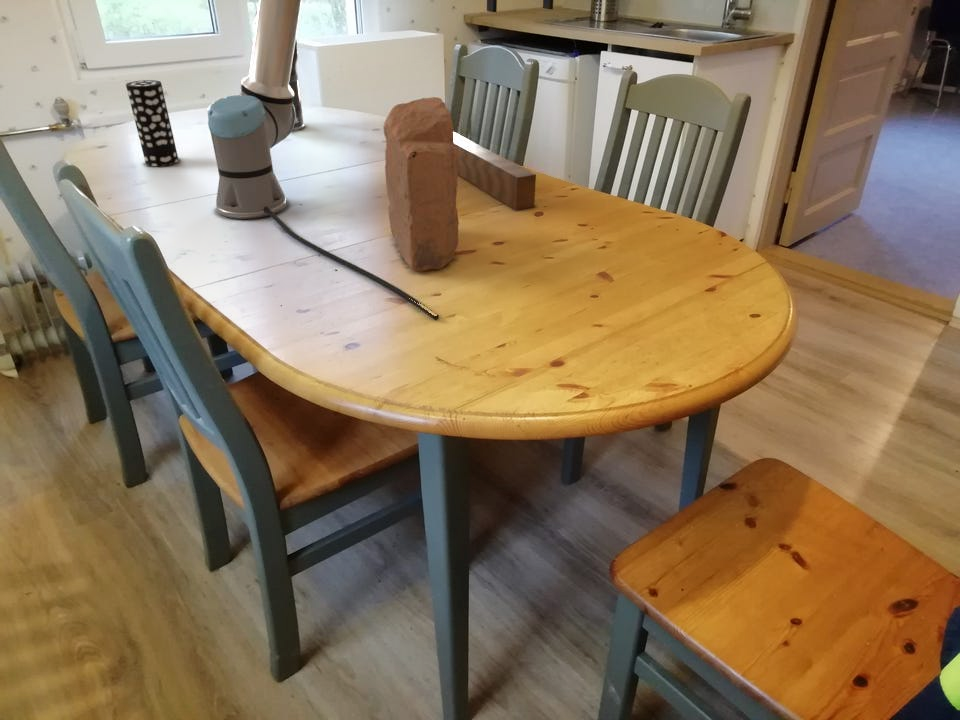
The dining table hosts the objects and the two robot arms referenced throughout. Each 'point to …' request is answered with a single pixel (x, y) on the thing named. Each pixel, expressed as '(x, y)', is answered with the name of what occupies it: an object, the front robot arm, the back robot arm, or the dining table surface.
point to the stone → (422, 182)
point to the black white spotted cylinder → (152, 122)
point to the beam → (495, 174)
